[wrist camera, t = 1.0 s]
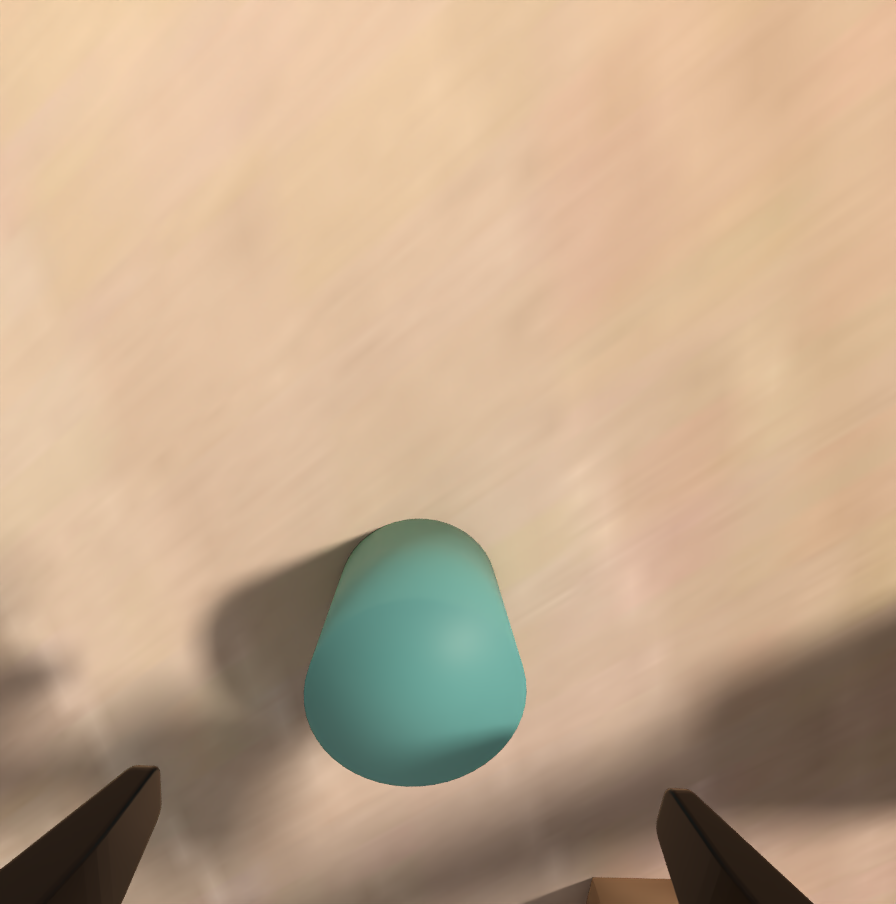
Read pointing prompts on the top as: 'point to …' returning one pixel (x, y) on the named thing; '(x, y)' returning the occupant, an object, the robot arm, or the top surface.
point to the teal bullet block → (415, 659)
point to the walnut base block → (631, 891)
